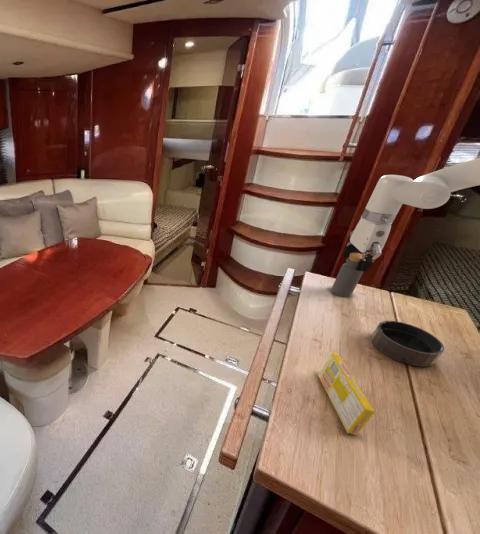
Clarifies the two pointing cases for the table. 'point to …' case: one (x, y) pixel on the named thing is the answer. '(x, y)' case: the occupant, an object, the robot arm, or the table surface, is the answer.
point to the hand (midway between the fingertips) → (354, 263)
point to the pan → (407, 343)
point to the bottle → (348, 276)
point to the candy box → (345, 394)
